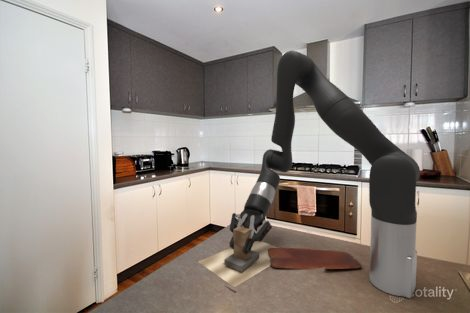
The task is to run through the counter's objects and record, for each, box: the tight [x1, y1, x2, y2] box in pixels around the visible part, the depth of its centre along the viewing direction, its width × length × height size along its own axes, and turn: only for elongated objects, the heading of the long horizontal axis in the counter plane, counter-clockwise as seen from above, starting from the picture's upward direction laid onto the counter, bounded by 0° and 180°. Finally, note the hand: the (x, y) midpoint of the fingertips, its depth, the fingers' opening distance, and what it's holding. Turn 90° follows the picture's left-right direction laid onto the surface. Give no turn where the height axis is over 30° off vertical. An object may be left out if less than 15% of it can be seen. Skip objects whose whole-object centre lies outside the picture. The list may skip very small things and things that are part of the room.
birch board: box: [198, 240, 278, 294], centre depth 69 cm, size 16×24×2 cm, turn 132°
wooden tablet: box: [267, 247, 363, 270], centre depth 67 cm, size 27×10×2 cm, turn 92°
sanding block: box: [224, 226, 259, 272], centre depth 66 cm, size 6×9×10 cm, turn 142°
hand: (238, 250), depth 64 cm, fingers closed on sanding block, 4 cm apart
